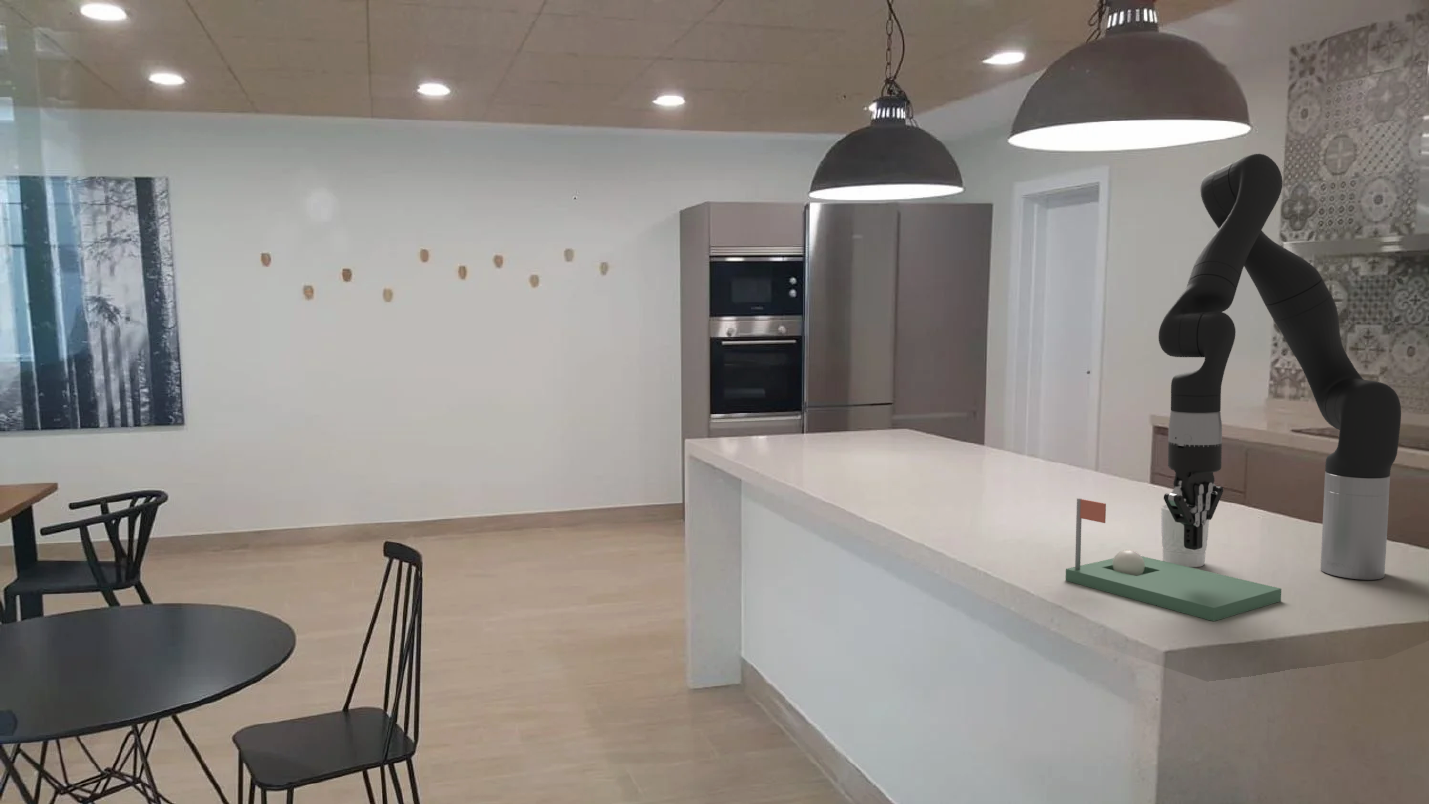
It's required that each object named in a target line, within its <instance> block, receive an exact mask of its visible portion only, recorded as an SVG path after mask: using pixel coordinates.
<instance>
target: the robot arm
mask: <svg viewBox="0 0 1429 804" xmlns="http://www.w3.org/2000/svg"><path fill="white" fill-rule="evenodd" d="M1199 186H1200V187H1199V193H1200V197H1201V201H1202V203H1203V205H1204V207H1205V210H1206V212H1207V213H1208V215H1209V217H1210V218H1211V220H1212V221H1213V223H1214V224H1215V225H1216V227H1217V228H1218V230H1217V231H1216V232H1215V233H1214V234H1213V236H1211V238H1210V239H1209V240H1208V241H1207V243H1206V244H1205V246H1204V247H1203V248H1202V250H1201V251H1200V253H1199V255H1198V256H1197V258H1196V260H1195V262H1194V264H1193V267H1192V270H1191V273H1190V276H1189V278H1188V281H1187V284H1186V288H1185V289H1184V291H1182V293H1181V295H1180V296H1179V297H1178V299H1177V300H1176V302H1175V303H1174V304H1173V305H1172V307H1171V308H1170V309H1169V310H1168V312H1167V313H1166V314H1165V316H1164V317H1163V319H1162V321H1161V324H1160V326H1159V330H1158V343H1159V346H1160V349H1161V350H1162V351H1163V353H1165V354H1166V355H1168V356H1170V357H1173V358H1204V362H1203V364H1202V365H1201V367H1200V368H1199V369H1197V370H1193V371H1188V372H1182V373H1178V374H1176V375H1174V376H1173V377H1172V379H1171V383H1170V384H1171V385H1170V415H1169V420H1168V421H1169V422H1168V438H1167V439H1168V441H1167V443H1168V446H1167V447H1168V449H1167V450H1168V451H1167V466H1168V468H1169V470H1172V471H1174V472H1175V475H1174V479H1173V482H1172V484H1173V485H1172V486H1173V490H1172V491H1171V493H1168V492H1167V493H1166V492H1165V493H1164V495H1163V500H1164V503H1165V505H1166V504H1167V506H1168V508H1169V510H1170V512H1171V514H1172V516H1173V518H1174V520H1175V522H1178V523H1181V524H1183V525H1184V547H1185V548H1187V549H1192V550H1197V549H1201V548H1202V541H1203V526H1204V525H1205V524H1206V520H1207V519H1208V520H1209V521H1211V520H1212V519H1213V516H1214V514H1215V512H1216V509H1217V507H1218V505H1219V502H1220V501H1221V498H1222V495H1223V493H1224V487H1223V486H1219V485H1218V486H1217V485H1216V484H1215V475H1214V473H1217V472H1220V471H1221V469H1222V453H1223V452H1222V449H1223V445H1222V444H1223V421H1222V415H1221V414H1222V413H1221V410H1222V409H1221V408H1222V407H1221V405H1222V404H1221V403H1222V402H1221V401H1222V398H1221V397H1222V384H1223V379H1224V374H1225V370H1226V366H1227V363H1228V360H1229V357H1230V355H1231V353H1232V349H1233V346H1234V344H1235V340H1236V332H1237V331H1236V326H1235V322H1234V321H1233V320H1232V317H1230V315H1229V314H1228V313H1225V311H1226V310H1227V311H1228V309H1230V307H1231V306H1232V303H1233V301H1234V299H1235V296H1236V293H1237V288H1238V286H1239V283H1240V279H1241V276H1242V273H1243V270H1244V268H1245V271H1246V272H1247V273H1248V275H1249V278H1250V279H1251V281H1252V282H1253V284H1254V286H1255V288H1256V290H1257V291H1258V294H1259V295H1260V297H1261V300H1262V302H1263V304H1264V306H1265V307H1266V309H1267V311H1268V313H1269V314H1270V316H1271V318H1272V319H1273V321H1274V323H1275V325H1276V327H1277V328H1278V330H1279V331H1280V333H1281V335H1282V337H1283V339H1284V340H1285V342H1286V344H1287V345H1288V348H1289V349H1290V351H1291V353H1292V354H1293V355H1294V357H1295V359H1296V361H1297V363H1298V364H1299V365H1300V368H1301V369H1302V371H1303V374H1304V376H1305V378H1306V380H1307V382H1308V385H1309V388H1310V390H1311V392H1312V395H1313V397H1314V400H1315V402H1316V405H1317V408H1318V409H1319V412H1320V414H1321V416H1322V417H1323V419H1324V420H1325V421H1326V422H1327V424H1329V425H1330V426H1332V427H1334V429H1336V430H1339V433H1338V434H1339V435H1338V443H1337V447H1336V449H1335V450H1334V451H1333V452H1332V453H1330V454H1328V456H1326V458H1325V467H1324V468H1325V469H1324V471H1325V472H1324V486H1323V487H1324V490H1323V510H1322V511H1323V512H1322V513H1323V514H1322V530H1321V548H1320V549H1321V550H1320V571H1322V572H1324V573H1326V574H1328V575H1331V576H1335V577H1338V578H1339V577H1340V578H1345V579H1355V580H1364V581H1366V580H1367V581H1369V580H1381V579H1383V578H1385V573H1386V557H1387V556H1386V555H1387V542H1388V541H1387V539H1388V538H1387V537H1388V522H1389V521H1388V520H1389V502H1390V500H1389V499H1390V485H1391V484H1390V483H1391V469H1392V466H1393V465H1394V462H1395V461H1396V458H1397V455H1398V451H1399V450H1398V449H1399V440H1400V432H1401V431H1400V430H1401V421H1402V406H1401V402H1400V398H1399V395H1398V394H1397V392H1396V391H1395V390H1394V389H1393V388H1392V387H1391V386H1390V385H1388V384H1386V383H1383V382H1380V381H1376V380H1368V379H1364V378H1363V377H1362V376H1361V374H1359V372H1358V370H1357V369H1356V368H1355V366H1354V364H1353V363H1352V361H1351V359H1350V358H1349V356H1348V355H1347V353H1346V350H1345V348H1344V346H1343V345H1344V344H1343V343H1342V337H1341V331H1340V319H1339V314H1338V313H1339V312H1338V309H1337V304H1336V302H1335V300H1334V297H1333V295H1332V294H1331V291H1330V290H1329V288H1328V286H1327V285H1326V282H1324V279H1323V278H1322V275H1321V274H1320V272H1319V270H1317V268H1316V267H1315V266H1313V265H1312V264H1311V263H1310V262H1308V261H1307V260H1305V259H1304V258H1302V257H1301V256H1299V255H1297V254H1296V253H1294V252H1292V251H1290V250H1289V249H1287V248H1285V247H1284V246H1282V245H1280V244H1278V243H1277V242H1275V241H1274V240H1273V239H1271V238H1269V236H1268V235H1266V233H1265V232H1264V231H1263V228H1264V227H1265V225H1266V222H1267V221H1268V218H1269V217H1270V215H1271V213H1272V212H1273V210H1274V208H1275V206H1276V205H1277V203H1278V201H1279V198H1280V196H1281V193H1282V189H1283V175H1282V172H1281V170H1280V168H1279V166H1278V165H1277V163H1276V162H1275V161H1274V160H1273V159H1272V158H1271V157H1270V156H1269V155H1266V154H1263V153H1252V154H1249V155H1246V156H1243V157H1241V158H1239V159H1237V160H1235V161H1232V162H1230V163H1229V164H1226V165H1224V166H1222V167H1220V168H1218V169H1216V170H1214V171H1211V172H1210V173H1208V174H1207V175H1205V176H1204V177H1203V178H1202V180H1201V182H1200V185H1199ZM1180 514H1181V515H1180Z"/></svg>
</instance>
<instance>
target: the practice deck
mask: <svg viewBox="0 0 1429 804" xmlns="http://www.w3.org/2000/svg"><path fill="white" fill-rule="evenodd" d="M1106 511H1107V503H1105V502H1099V501H1094V500H1089V499H1085V498H1076V521H1075V522H1076V524H1075V555H1074V556H1075V559H1074V560H1075V561H1074V562H1075V564H1074V566H1071V567H1068V568H1066V569H1065V581H1067V582H1069V583H1073V584H1077V585H1081V586H1084V587H1088V588H1092V589H1096V590H1098V591H1102V592H1107V593H1110V594H1113V595H1117V596H1121V597H1124V598H1128V599H1131V600H1135V601H1138V602H1142V603H1146V604H1149V605H1153V606H1156V605H1157V607H1161V608H1163V609H1166V610H1167V609H1168V610H1170V611H1175V612H1178V613H1183V614H1185V615H1189V616H1193V617H1198V618H1200V619H1203V620H1208V621H1210V622H1216V621H1219V620H1223V619H1225V618H1229V617H1233V616H1235V615H1239V614H1243V613H1246V612H1249V611H1253V610H1256V609H1260V608H1263V607H1266V606H1269V605H1273V604H1275V603H1278V602H1282V588H1281V587H1277V586H1272V585H1268V584H1263V583H1258V582H1254V581H1250V580H1247V579H1242V578H1238V577H1233V576H1229V575H1224V574H1220V573H1216V572H1211V571H1207V570H1204V569H1199V568H1196V567H1186V566H1182V565H1178V564H1173V563H1169V562H1165V561H1163V560H1161V559H1160V560H1159V559H1156V558H1151V557H1148V556H1143V555H1141V556H1142V558H1143V560H1144V563H1145V568H1144V571H1143V573H1142V574H1141V575H1139V576H1134V575H1130V574H1126V573H1122V572H1118V571H1114V569H1113V564H1112V563H1113V559H1114V557H1113V558H1109V559H1105V560H1099V561H1095V562H1091V563H1086V564H1081V559H1082V558H1081V556H1082V555H1081V553H1082V552H1081V551H1082V549H1081V548H1082V547H1081V546H1082V519H1083V520H1088V521H1091V522H1092V521H1093V522H1096V523H1102V524H1106V516H1107V515H1106Z"/></svg>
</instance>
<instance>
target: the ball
mask: <svg viewBox="0 0 1429 804" xmlns="http://www.w3.org/2000/svg"><path fill="white" fill-rule="evenodd" d="M1142 556H1143V555H1141V554H1140V553H1139V552H1137V551H1135V550H1133V549H1123V550H1120V551H1118V552H1117V553H1116V554H1115V555H1114V557H1113V558H1114V559H1113V558H1112V559H1113V563H1112V564H1113V569H1114V571H1118V572H1122V573H1126V574H1130V575H1134V576H1139V575H1141V574H1142V573H1143V571H1144V568H1145V563H1144V560H1143V558H1142Z"/></svg>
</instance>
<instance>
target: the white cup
mask: <svg viewBox="0 0 1429 804" xmlns="http://www.w3.org/2000/svg"><path fill="white" fill-rule="evenodd" d="M1160 510H1161V512H1160V514H1161V515H1160V517H1161V545H1162V561H1165V562H1169V563H1173V564H1178V565H1182V566H1186V567H1191V568H1199V567H1203V566H1204V565H1205V563H1206V551H1207V546H1208V538H1209V527H1210V520H1208V519H1207V520H1206V524H1205V525H1204V526H1203V541H1202V548H1201V549H1197V550H1192V549H1187V548H1185V547H1184V525H1183V524H1181V523H1178V522H1175V520H1174V518H1173V516H1172V514H1171V512H1170V510H1169V508H1168V506H1167V504H1166V503H1165V504H1163V505H1161V507H1160ZM1180 515H1181V514H1180Z"/></svg>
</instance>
